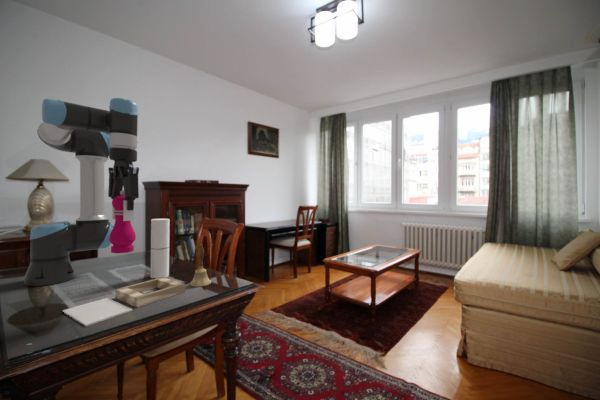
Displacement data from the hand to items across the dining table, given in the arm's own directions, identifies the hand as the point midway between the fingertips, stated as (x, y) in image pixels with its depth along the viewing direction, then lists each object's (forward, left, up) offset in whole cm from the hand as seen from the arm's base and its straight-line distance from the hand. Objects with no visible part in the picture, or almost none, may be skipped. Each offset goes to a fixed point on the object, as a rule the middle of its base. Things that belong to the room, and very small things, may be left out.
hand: (122, 219), depth 87 cm
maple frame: (0, +10, -28) cm, 29 cm away
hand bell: (+4, +28, -28) cm, 40 cm away
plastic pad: (0, -7, -28) cm, 29 cm away
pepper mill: (0, 0, -11) cm, 11 cm away
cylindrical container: (-18, +24, -28) cm, 41 cm away
